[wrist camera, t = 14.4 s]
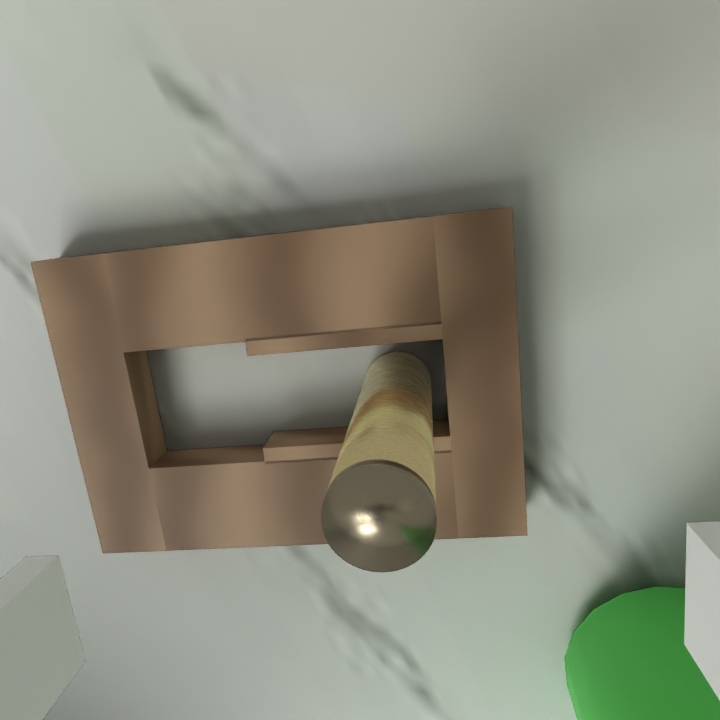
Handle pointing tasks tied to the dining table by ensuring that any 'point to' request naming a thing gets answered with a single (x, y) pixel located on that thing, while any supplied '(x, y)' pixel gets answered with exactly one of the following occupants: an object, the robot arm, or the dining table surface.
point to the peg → (385, 471)
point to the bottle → (637, 662)
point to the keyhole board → (282, 335)
